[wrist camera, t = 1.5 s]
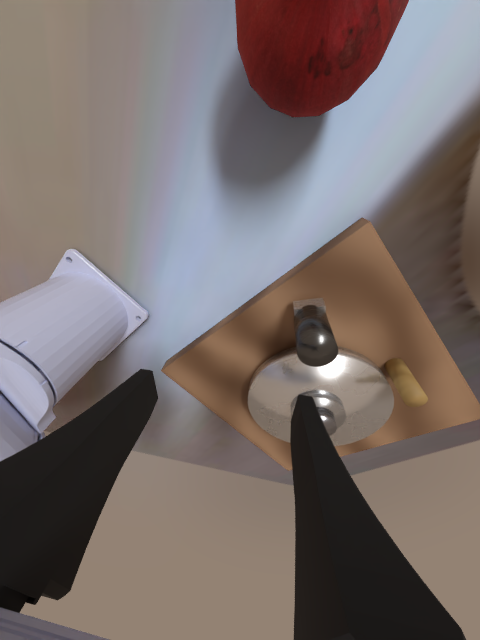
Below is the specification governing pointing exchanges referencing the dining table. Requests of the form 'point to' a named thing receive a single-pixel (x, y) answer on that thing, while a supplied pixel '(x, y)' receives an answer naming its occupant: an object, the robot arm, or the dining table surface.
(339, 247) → the base board
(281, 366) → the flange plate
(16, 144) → the dining table surface
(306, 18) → the red oval fruit
